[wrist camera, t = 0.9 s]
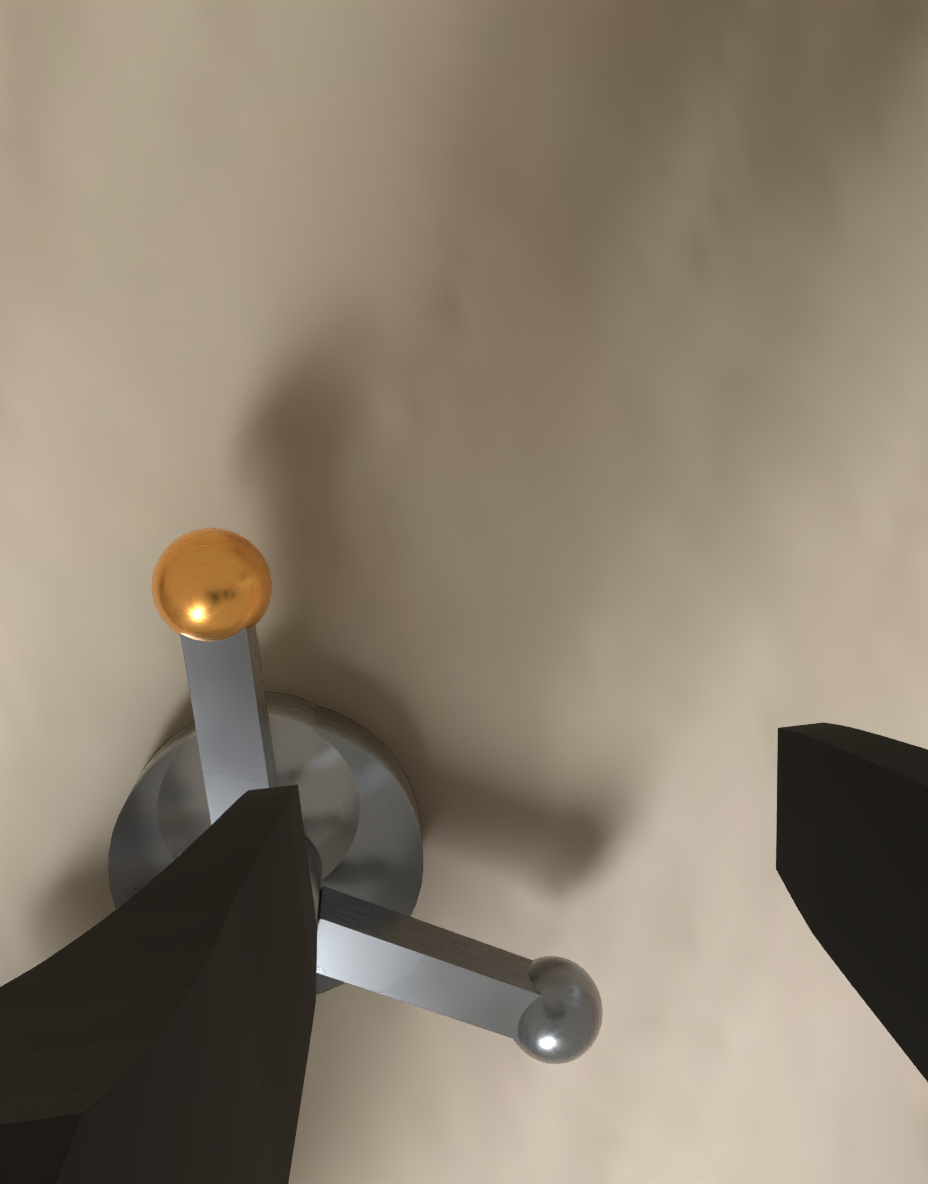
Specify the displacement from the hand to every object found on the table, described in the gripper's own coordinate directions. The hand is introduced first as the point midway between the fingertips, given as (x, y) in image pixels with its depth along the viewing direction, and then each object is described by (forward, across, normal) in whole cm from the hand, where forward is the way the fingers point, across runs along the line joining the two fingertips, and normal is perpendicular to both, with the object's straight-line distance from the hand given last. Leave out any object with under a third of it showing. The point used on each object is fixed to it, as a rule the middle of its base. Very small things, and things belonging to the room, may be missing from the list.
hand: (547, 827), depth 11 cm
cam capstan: (+10, +5, +3) cm, 12 cm away
